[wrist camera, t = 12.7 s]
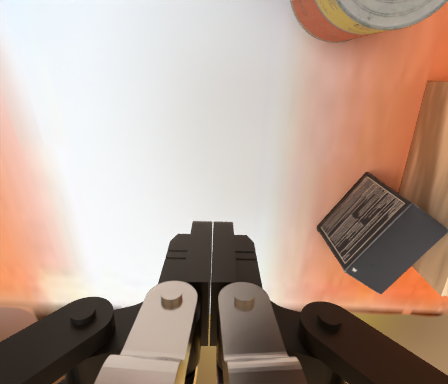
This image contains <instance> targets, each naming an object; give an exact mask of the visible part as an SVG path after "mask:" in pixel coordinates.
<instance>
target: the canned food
mask: <svg viewBox="0 0 448 384" xmlns="http://www.w3.org/2000/svg"><path fill="white" fill-rule="evenodd" d="M447 1H448V0H291V5H292V9H293V11H294V14H295V16H296V18H297V20H298V22H299V23H300V25H301V26H302V27H303V28H304V29H305V30H306V31H307V32H308V33H309V34H310V35H312V36H313V37H315V38H317V39H320V40H322V41H326V42H344V41H348V40H351V39H354V38H357V37H361V36H366V35H370V34H374V33H379V32H383V31H387V30H396V29H402V28H405V27H409V26H411V25H414V24H416V23H418V22H420V21H422V20H424V19H426V18H428V17H429V16H431V15H432V14H433V13H435V12H436V11H437V10H439V9H440V8H441V7H442V6H443V5H444V4H445V3H446V2H447Z"/></svg>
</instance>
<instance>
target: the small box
mask: <svg viewBox="0 0 448 384" xmlns="http://www.w3.org/2000/svg"><path fill="white" fill-rule="evenodd" d="M317 231H318V232H320V234H321V235H322V237H323V238H324V240H325V241H326V243H327V245H328V246H329V248H330V249H331V251H332V252H333V254H334V255H335V257H336V258H337V260H338V261H339V263H340V264H341V266H342V268H343V270H344V272H345V273H347V274H349V275H350V276H352V277H353V278H355V279H356V280H358V281H360V282H361V283H363V284H364V285H366V286H368V287H369V288H371V289H372V290H374V291H376V292H377V293H379V294H382V293H383V292H384V291H385V290H386V289H387V288H388V287H390V286H391V285H392V284H393V283H394V282H395V281H396V280H397V279H398V278H399V277H400V276H401V275H402V274H403V273H404V272H406V271H407V270H408V269H409V268H410V267H411V266H412V265H413V264H414V263H415V262H416V261H417V260H419V259H420V258H421V257H422V256H423V255H424V254H425V253H426V252H427V251H428V250H429V249H430V248H431V247H433V246H434V245H435V244H436V243H437V242H438V241H439V240H440V239H441V238H442V237H443V236H444V235H446V234H447V233H448V229H447V228H446V227H445V226H443V225H442V224H441V223H439V222H438V221H437V220H436V219H434V218H433V217H432V216H430V215H429V214H428V213H426V212H425V211H424V210H422V209H421V208H420V207H418V206H417V205H416V204H414V203H413V202H411V201H409V200H407V199H406V198H404V197H403V196H401V195H400V194H398V193H397V192H396V191H394V190H393V189H391V188H390V187H388V186H387V185H385V184H384V183H382V182H381V181H380V180H378V179H377V178H376V177H374V176H373V175H372V174H370V173H369V172H366V173H365V174H364V176H363V177H362V178H361V179H360V180H359V181H358V182H357V183H356V184H355V185H354V187H353V188H352V189H351V190H350V191H349V192H348V193H347V194H346V195H345V196H344V198H343V199H342V200H341V201H340V202H339V203H338V204H337V205H336V206H335V208H334V209H333V210H332V211H331V212H330V213H329V214H328V215H327V216H326V217H325V219H324V220H323V221H322V222H321V223H320V224H319V225H318V226H317Z"/></svg>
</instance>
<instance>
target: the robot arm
mask: <svg viewBox="0 0 448 384" xmlns="http://www.w3.org/2000/svg"><path fill="white" fill-rule="evenodd" d="M211 258H212V275H211ZM210 285H211V320H210V321H211V323H210V324H211V325H210V346H217V353H216V357H217V358H216V379H217V384H347V383H348V384H448V376H447V375H446V374H444V373H443V372H441V371H440V370H438V369H437V368H435V367H433V366H432V365H430V364H429V363H427V362H426V361H424V360H423V359H421V358H419V357H418V356H416V355H415V354H413V353H412V352H410V351H408V350H407V349H406V348H404V347H403V346H401V345H399V344H398V343H396V342H395V341H393V340H391V339H390V338H389V337H387V336H385V335H384V334H382V333H381V332H379V331H378V330H376V329H375V328H373V327H371V326H369V325H368V324H367V323H365V322H364V321H362V320H361V319H359V318H358V317H356V316H354V315H353V314H351V313H350V312H348V311H347V310H345V309H343V308H342V307H340V306H338V305H335V304H332V303H329V302H312V303H309V304H307V305H306V306H305V307H304V308H303V309H302V311H301V312H297V311H293V310H289V309H286V308H283V307H280V306H278V305H276V304H275V303H273V302H272V301H270V299H269V296H268V294H267V293H266V292H265V291H264V290H263V289H262V283H261V278H260V273H259V268H258V262H257V257H256V253H255V247H254V243H253V242H252V240H251V239H250V238H249V237H248V236H247V235H234V230H233V222H214V228H213V252H212V222H206V221H193V223H192V229H191V234H178V235H176V236H175V237H174V238H173V239H172V240H171V241H170V244H169V248H168V252H167V255H166V259H165V262H164V265H163V269H162V272H161V276H160V279H159V282H158V285H156V286H154V287H153V288H152V289H151V290H150V291H149V292H148V293H147V295H146V297H145V299H144V301H143V302H141V303H139V304H137V305H134V306H130V307H126V308H121V309H117V310H113V306H112V304H111V303H110V302H109V301H108V300H106V299H104V298H100V297H87V298H82V299H78V300H76V301H73V302H71V303H69V304H67V305H66V306H64V307H62V308H60V309H59V310H57V311H55V312H53V313H51V314H50V315H48V316H46V317H44V318H42V319H41V320H39V321H37V322H35V323H34V324H32V325H30V326H28V327H26V328H25V329H23V330H21V331H19V332H18V333H16V334H14V335H12V336H10V337H9V338H7V339H5V340H3V341H2V342H0V384H52V383H54V382H55V381H56V380H58V379H59V378H60V377H62V376H63V375H64V379H63V380H62V381H61V382H59V383H58V384H196V378H197V370H198V363H199V358H200V348H201V346H208V329H209V307H210ZM346 382H347V383H346Z"/></svg>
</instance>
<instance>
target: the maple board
mask: <svg viewBox="0 0 448 384" xmlns="http://www.w3.org/2000/svg"><path fill="white" fill-rule="evenodd" d="M399 194H400V195H401V196H403V197H404V198H406V199H407V200H409V201H411V202H413V203H414V204H416V205H417V206H418V207H420V208H421V209H422V210H424V211H425V212H426V213H428V214H429V215H430V216H432V217H433V218H434V219H436V220H437V221H438V222H439V223H441V224H442V225H443V226H445V227H446V228H447V229H448V82H446V81H427V85H426V89H425V93H424V97H423V100H422V104H421V108H420V112H419V116H418V120H417V124H416V128H415V132H414V136H413V139H412V143H411V147H410V151H409V155H408V159H407V163H406V167H405V171H404V174H403V178H402V182H401V186H400V190H399ZM412 267H413V268H414V269H415V270H416V271H417V272H418V273H419V274H420V275H421V276H422V277H423V278H424V279H425V280H426V281H427V282H428V283H429V284H430V285H431V286H432V287H433V288H434V289H435V290H436V291H437V292H438V293H439V294H440V295H441V296H448V233H447V234H446V235H444V236H443V237H442V238H441V239H440V240H439V241H438V242H437V243H436V244H435V245H434V246H433V247H431V248H430V249H429V250H428V251H427V252H426V253H425V254H424V255H423V256H422V257H421V258H420V259H419V260H417V261H416V262H415V263H414V264H413V265H412Z"/></svg>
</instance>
